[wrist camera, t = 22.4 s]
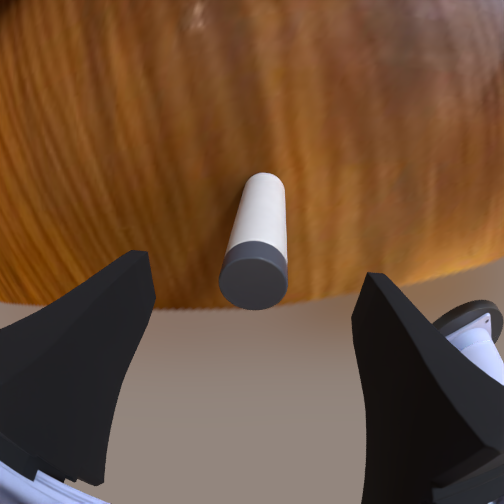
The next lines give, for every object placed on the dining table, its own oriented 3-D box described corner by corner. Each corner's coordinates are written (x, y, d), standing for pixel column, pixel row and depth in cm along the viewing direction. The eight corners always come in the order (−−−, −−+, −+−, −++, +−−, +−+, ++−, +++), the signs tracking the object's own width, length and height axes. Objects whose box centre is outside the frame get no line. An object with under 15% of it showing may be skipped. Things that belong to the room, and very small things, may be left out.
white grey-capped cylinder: (292, 196, 16) (300, 293, 9) (259, 216, 17) (246, 319, 10) (269, 164, 15) (260, 244, 9) (236, 186, 16) (204, 277, 9)
